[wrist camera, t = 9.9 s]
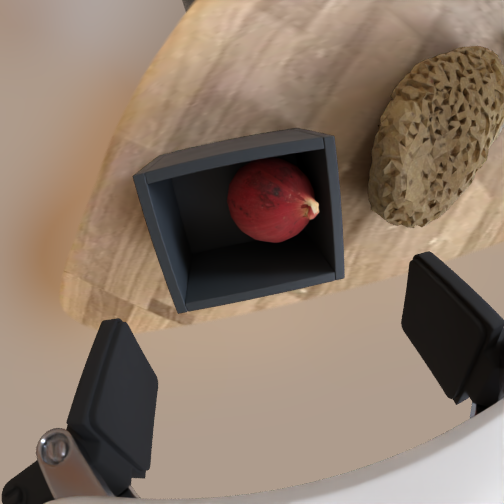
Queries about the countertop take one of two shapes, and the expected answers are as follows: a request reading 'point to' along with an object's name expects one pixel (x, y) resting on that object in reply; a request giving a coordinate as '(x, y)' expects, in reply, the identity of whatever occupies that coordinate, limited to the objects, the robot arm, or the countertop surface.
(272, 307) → the countertop surface
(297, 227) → the onion
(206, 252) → the waste bin
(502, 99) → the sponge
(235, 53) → the countertop surface
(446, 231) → the countertop surface
